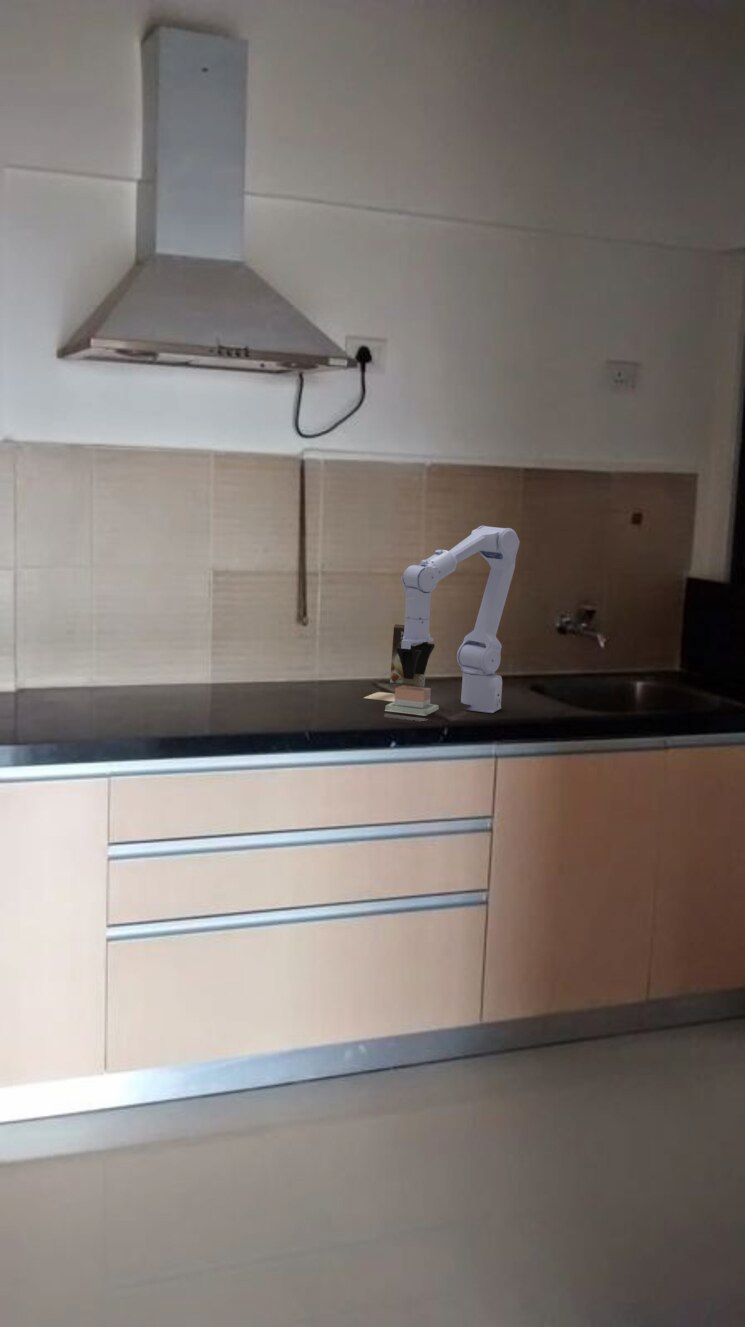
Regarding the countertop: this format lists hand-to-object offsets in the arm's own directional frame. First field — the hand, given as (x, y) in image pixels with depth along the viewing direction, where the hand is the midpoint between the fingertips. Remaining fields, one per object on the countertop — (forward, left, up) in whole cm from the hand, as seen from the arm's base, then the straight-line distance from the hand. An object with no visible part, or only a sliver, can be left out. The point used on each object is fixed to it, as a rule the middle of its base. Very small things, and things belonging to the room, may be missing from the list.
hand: (414, 676), depth 306 cm
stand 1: (+10, -12, -9) cm, 18 cm away
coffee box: (+14, -36, -10) cm, 40 cm away
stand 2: (0, 0, -9) cm, 9 cm away
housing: (0, 0, -8) cm, 8 cm away
